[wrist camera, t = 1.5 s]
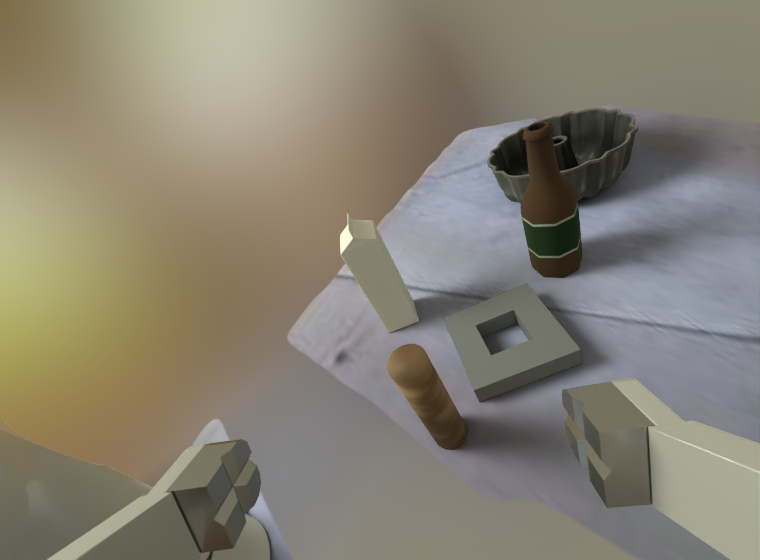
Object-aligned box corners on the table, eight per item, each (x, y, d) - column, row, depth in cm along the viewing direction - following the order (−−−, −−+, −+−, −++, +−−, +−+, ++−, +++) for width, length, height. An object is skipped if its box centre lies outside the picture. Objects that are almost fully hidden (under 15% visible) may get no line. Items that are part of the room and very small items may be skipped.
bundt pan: (493, 174, 90) (484, 137, 84) (612, 138, 79) (612, 93, 74) (501, 234, 71) (490, 192, 65) (659, 198, 61) (663, 144, 55)
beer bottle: (589, 273, 55) (578, 125, 41) (536, 284, 58) (509, 148, 44) (576, 244, 61) (562, 104, 47) (528, 254, 63) (502, 126, 50)
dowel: (439, 454, 44) (390, 386, 35) (430, 422, 48) (384, 353, 38) (472, 442, 44) (431, 370, 34) (460, 411, 47) (421, 338, 38)
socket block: (479, 402, 47) (473, 390, 45) (448, 329, 58) (443, 318, 57) (582, 363, 45) (580, 349, 43) (529, 296, 56) (526, 283, 55)
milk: (413, 300, 67) (365, 203, 54) (419, 322, 62) (368, 220, 50) (384, 312, 68) (330, 219, 55) (388, 334, 63) (330, 238, 51)
